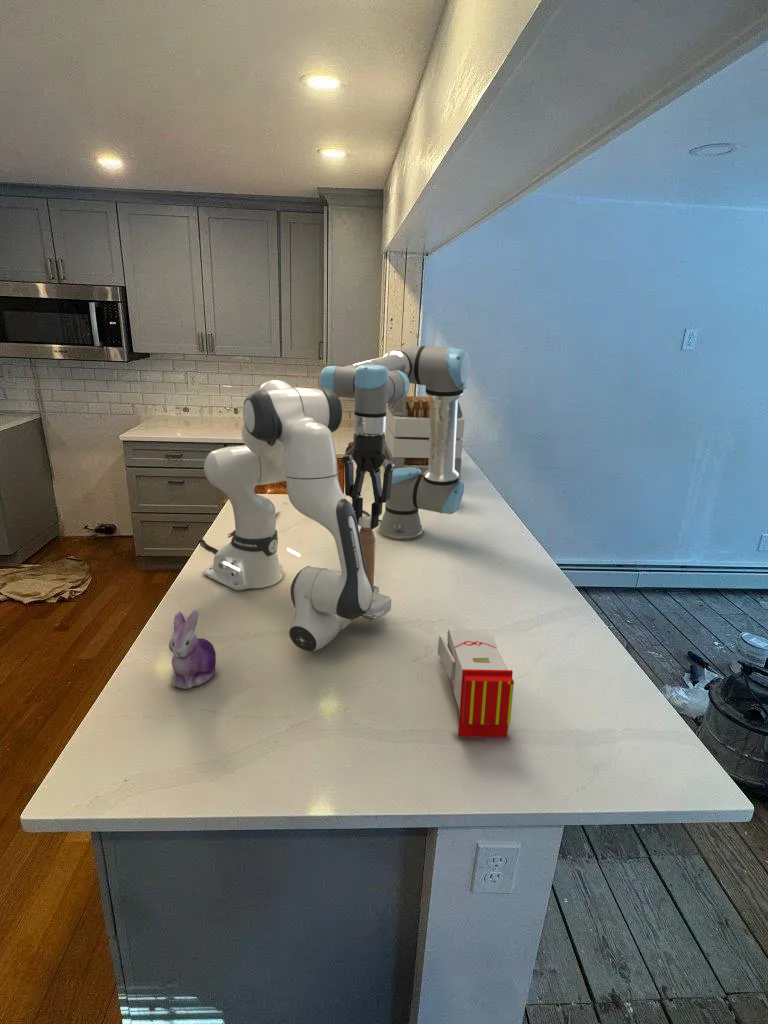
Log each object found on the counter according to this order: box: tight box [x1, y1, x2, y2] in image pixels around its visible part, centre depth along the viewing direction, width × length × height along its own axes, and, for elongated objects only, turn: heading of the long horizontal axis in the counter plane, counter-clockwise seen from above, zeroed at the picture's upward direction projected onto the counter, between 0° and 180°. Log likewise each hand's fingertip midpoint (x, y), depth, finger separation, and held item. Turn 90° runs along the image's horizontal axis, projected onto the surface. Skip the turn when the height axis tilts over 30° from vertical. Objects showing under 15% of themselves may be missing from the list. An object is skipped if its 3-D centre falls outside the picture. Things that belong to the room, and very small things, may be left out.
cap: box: [358, 515, 371, 528], centre depth 141 cm, size 4×4×2 cm
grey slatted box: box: [384, 394, 465, 481], centre depth 268 cm, size 34×33×41 cm
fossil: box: [344, 441, 354, 456], centre depth 304 cm, size 22×10×15 cm
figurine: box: [168, 610, 217, 690], centre depth 117 cm, size 9×10×15 cm
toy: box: [437, 628, 515, 738], centre depth 117 cm, size 12×13×30 cm
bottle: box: [359, 527, 377, 587], centre depth 145 cm, size 5×5×25 cm
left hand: (365, 585), depth 148 cm, fingers closed on bottle, 5 cm apart
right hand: (366, 525), depth 142 cm, fingers closed on cap, 4 cm apart
